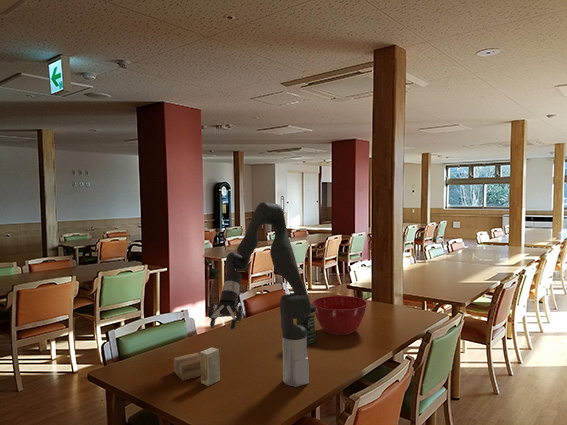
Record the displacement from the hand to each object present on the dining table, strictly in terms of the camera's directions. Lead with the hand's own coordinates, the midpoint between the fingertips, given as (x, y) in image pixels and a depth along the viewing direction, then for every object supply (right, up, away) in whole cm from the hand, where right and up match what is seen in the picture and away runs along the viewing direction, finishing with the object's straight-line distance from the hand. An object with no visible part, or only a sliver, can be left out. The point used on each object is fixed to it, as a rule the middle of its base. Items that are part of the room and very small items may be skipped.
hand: (221, 328), depth 177 cm
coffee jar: (+37, -14, +26) cm, 47 cm away
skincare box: (-2, -16, -16) cm, 23 cm away
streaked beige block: (-12, -16, -7) cm, 21 cm away
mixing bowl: (+55, -13, +42) cm, 71 cm away
